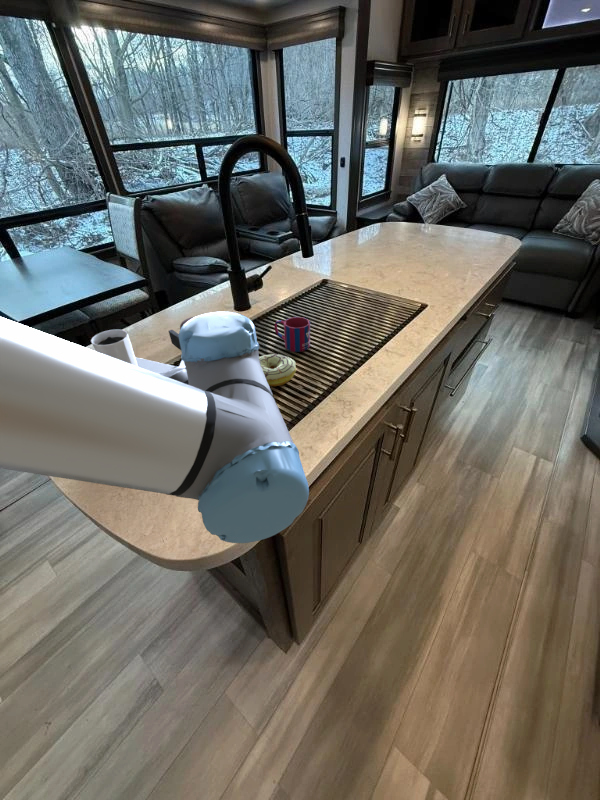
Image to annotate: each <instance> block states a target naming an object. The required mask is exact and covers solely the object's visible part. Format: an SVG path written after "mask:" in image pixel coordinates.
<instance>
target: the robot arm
mask: <svg viewBox="0 0 600 800" xmlns="http://www.w3.org/2000/svg"><path fill="white" fill-rule="evenodd" d="M193 317H194V318H192V319H191V320H189V321H187V322H186V323H185V324H184V325H183V326H182V328H181V329H180V328H179V332H176V331H175V330H173V329H170V330H168V334H169V335H168V336H169V339H170V342H171V344H172V345H174V346H175V347H176V348H178V350H180V351H181V355H180V356H181V361H180V363H179V365H178V366H177V367H178V368H175V367H174V368H172V369H170V370H168V371H166V372H163V373H160V374H157V373H154V372H151V371H149V370H146V369H143V368H140V367H138V366H135V365H132V364H129V363H126V362H124V361H121V360H118V359H115V358H113V357H110V356H107V355H104V354H102V353H99V352H96V350H93V349H90V348H88V347H85V346H82V345H80V344H77V343H74V342H70V341H69V340H65V339H63V338H61V337H57V336H55V335H53V334H49V333H47V332H43V331H41V330H38V329H35V328H32V327H29V326H28V325H24V324H22V323H19V322H16V321H13V320H11V319H7V318H5V317H2V316H0V469H3V470H8V471H13V472H14V471H15V472H21V473H28V474H33V475H34V474H35V475H41V476H47V477H53V478H60V479H65V480H72V481H79V482H86V483H93V484H99V485H106V486H112V487H119V488H125V489H132V490H138V491H143V492H151V493H157V494H163V495H168V496H174V497H178V498H184V499H190V500H196V501H198V502H197V511H198V512H199V513H201V518H202V523H203V525H204V528H205V530H206V531H207V532H209V533H210V535H213V536H217V537H218V538H219V540H220V541H223V542H225V543H230V544H249V543H254V542H259V541H263V540H265V539H268V538H271V537H273V536H276V535H277V534H279V533H281V532H282V531H284V530H286V529H287V528H288V527H290V526H291V525H293V523H294V521H295V519H297V517H299V516H300V515H301V514H302V513H303V512H304V510H305V507H306V506H307V503H308V500H309V496H310V488H309V482H308V480H307V478H306V477H307V476H306V474H305V471H304V467H303V464H302V461H301V458H300V451H299V449H298V447H297V445H296V444H295V442H294V441H293V439H292V435H291V434H290V431H289V428H288V427H287V424H286V423H285V420H284V418H283V416H282V413H281V411H280V408H279V407H278V405H277V402H276V400H275V397H274V394H273V392H272V389H271V388H270V387H271V386H269V385H268V382H267V380H266V377H265V375H264V373H263V370H262V368H261V365H260V361H259V357H260V356H259V349H260V343H259V342H258V339H257V333H256V326H255V324H254V323H253V321H252V320H251V319H250V318H249V317H247V316H245V315H243V314H240V313H238V312H233V311H212V312H205V313H203V314H199V315H197V316H193Z"/></svg>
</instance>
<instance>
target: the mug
mask: <svg viewBox="0 0 600 800" xmlns="http://www.w3.org/2000/svg"><path fill="white" fill-rule="evenodd" d="M278 324H281V325H283V332H284V333H283V334H284V335H283V334H281V333H280V331H279V329H278ZM274 332H275V334H276V335H277V337H278V338H280V339H281V340H282V341H284V347H285V349H286V350H287V351H289V352H293V353H301V352H305V351H307V350H309V348H310V347H311V321H310V320H309V319H308V318H307V317H306V318H305V317H302V316H293V317H289V318H286V319H285V320H281V319H278V320H276V321H275V323H274Z"/></svg>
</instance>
